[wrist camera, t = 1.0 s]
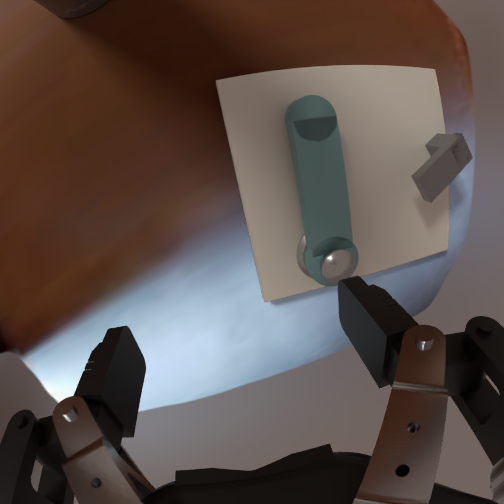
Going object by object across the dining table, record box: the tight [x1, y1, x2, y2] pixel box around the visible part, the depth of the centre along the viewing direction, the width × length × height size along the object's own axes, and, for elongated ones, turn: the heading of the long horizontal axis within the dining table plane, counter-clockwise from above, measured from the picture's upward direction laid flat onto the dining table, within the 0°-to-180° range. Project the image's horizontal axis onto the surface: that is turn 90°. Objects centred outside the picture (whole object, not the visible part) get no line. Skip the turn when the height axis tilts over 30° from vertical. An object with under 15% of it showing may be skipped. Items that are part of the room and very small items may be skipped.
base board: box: [216, 65, 449, 302], centre depth 28 cm, size 22×24×2 cm
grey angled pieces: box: [296, 133, 472, 284], centre depth 26 cm, size 22×6×4 cm, turn 132°
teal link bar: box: [285, 95, 359, 286], centre depth 26 cm, size 18×5×2 cm, turn 12°
